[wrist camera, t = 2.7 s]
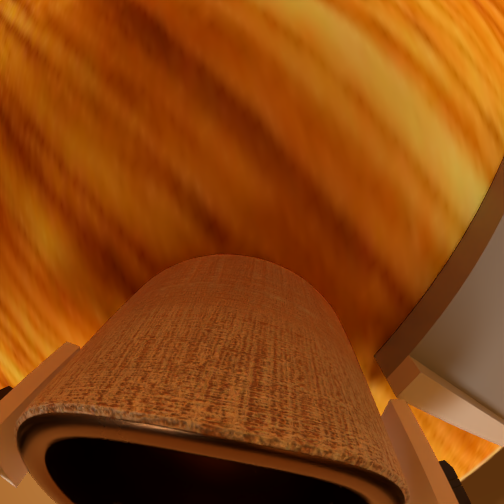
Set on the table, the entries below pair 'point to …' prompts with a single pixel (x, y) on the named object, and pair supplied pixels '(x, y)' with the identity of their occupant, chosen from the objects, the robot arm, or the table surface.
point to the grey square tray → (459, 332)
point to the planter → (213, 400)
